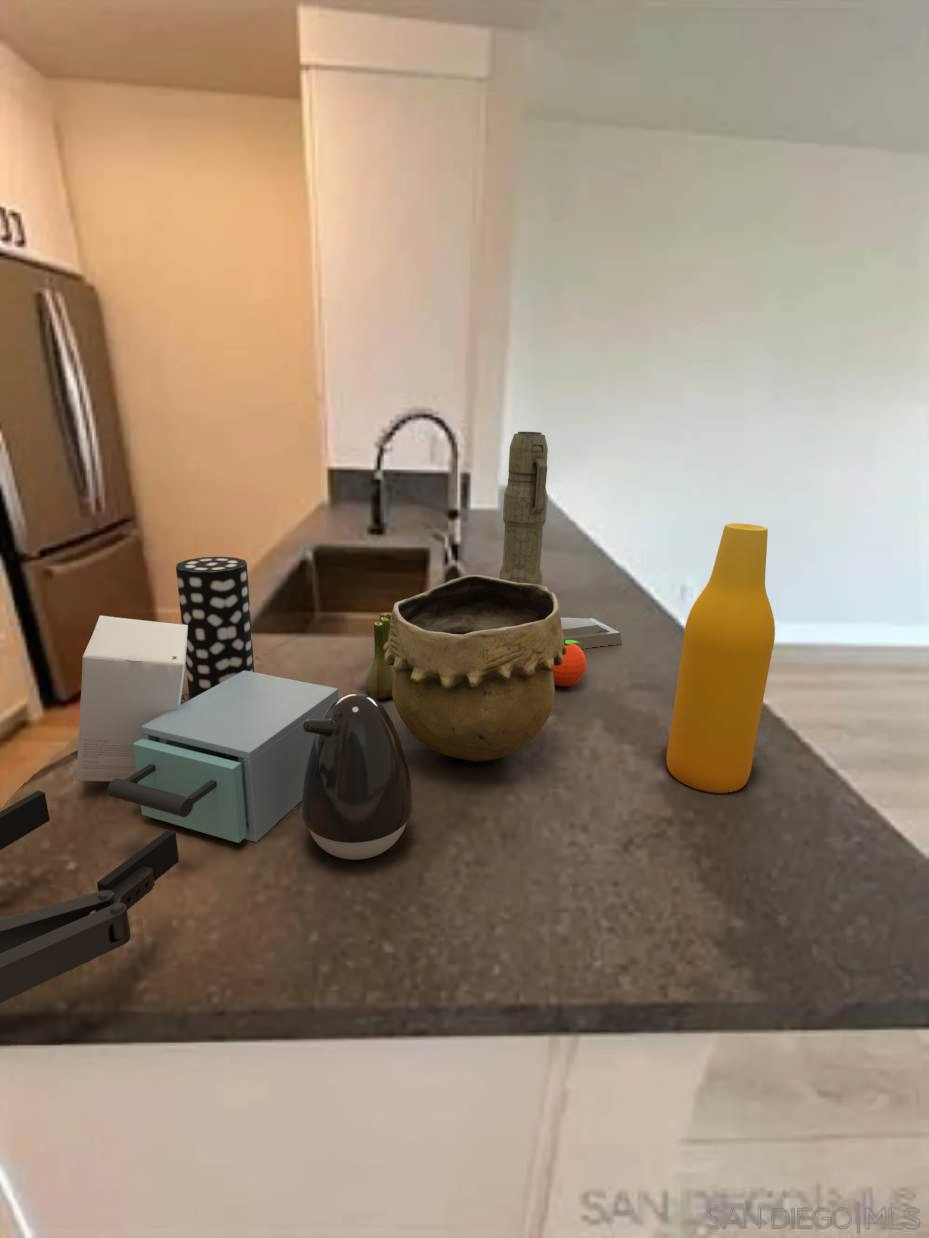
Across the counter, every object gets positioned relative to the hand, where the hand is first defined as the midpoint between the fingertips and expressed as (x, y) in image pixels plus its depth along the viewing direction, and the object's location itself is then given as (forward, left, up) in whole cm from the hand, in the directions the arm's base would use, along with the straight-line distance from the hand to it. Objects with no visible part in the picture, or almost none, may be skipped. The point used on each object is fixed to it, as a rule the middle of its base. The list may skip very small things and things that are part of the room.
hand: (106, 824), depth 54 cm
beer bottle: (+46, +41, -7) cm, 62 cm away
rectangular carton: (-14, +15, -5) cm, 21 cm away
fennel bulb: (+2, +45, -7) cm, 46 cm away
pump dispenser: (+15, +14, -7) cm, 22 cm away
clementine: (+25, +60, -7) cm, 65 cm away
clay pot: (+19, +35, -7) cm, 40 cm away
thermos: (+7, +99, -7) cm, 100 cm away
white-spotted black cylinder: (-15, +32, -7) cm, 36 cm away
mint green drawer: (0, +13, -6) cm, 15 cm away
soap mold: (+20, +79, -7) cm, 82 cm away
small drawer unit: (0, +18, -7) cm, 19 cm away
